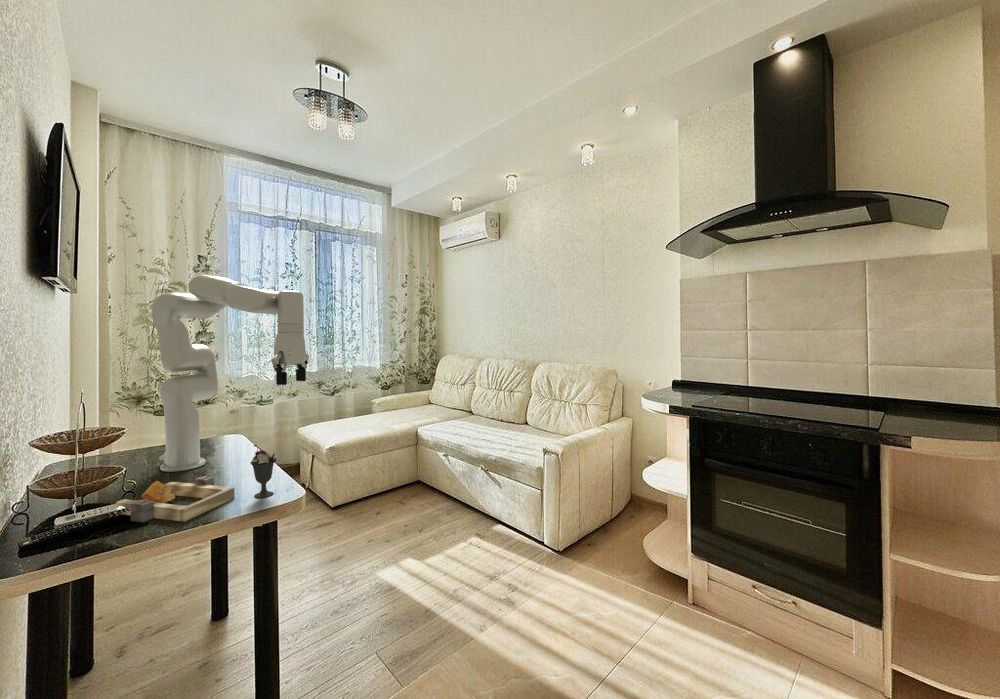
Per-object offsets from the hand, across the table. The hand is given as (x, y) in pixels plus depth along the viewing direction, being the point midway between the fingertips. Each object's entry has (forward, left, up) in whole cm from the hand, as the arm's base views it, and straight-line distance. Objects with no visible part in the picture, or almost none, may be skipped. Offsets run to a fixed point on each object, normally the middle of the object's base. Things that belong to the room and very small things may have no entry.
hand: (291, 382), depth 134 cm
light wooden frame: (-16, -26, -31) cm, 43 cm away
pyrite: (-22, -26, -31) cm, 46 cm away
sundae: (+2, -15, -31) cm, 35 cm away
